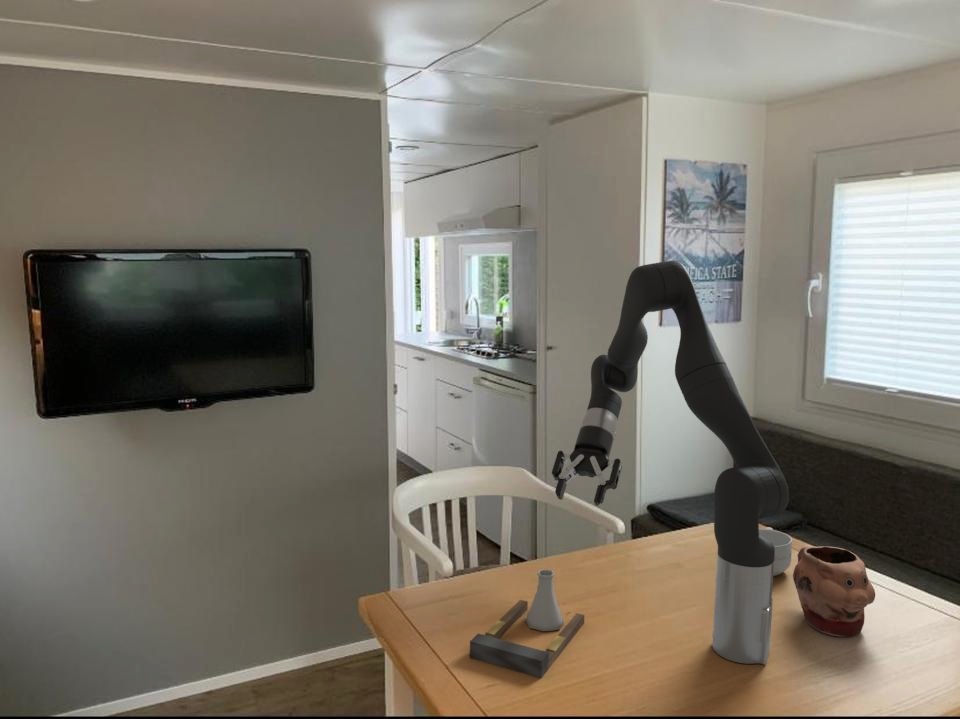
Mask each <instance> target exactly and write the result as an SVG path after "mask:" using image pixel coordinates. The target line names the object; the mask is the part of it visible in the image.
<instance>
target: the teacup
mask: <svg viewBox="0 0 960 719" xmlns="http://www.w3.org/2000/svg"><path fill="white" fill-rule="evenodd" d="M759 535H760V536H762V537H765V538H767V539H768V540H770V541H771V542H772V543H773V545H774V547H775V557H774V571H773V577H775V576H778V575H781V574H782V573H784V572H785V571H786V570H788V569H789V567H790V565H791V563H792V553H793V552H792V546H793V545H792V544H793V538H792V536H790V535H789V534H787V533H784V532H783V531H779V530H773V528H772V527H769V526H768V527H767V526H766V527H765V528H759Z"/></svg>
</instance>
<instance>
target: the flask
mask: <svg viewBox="0 0 960 719" xmlns="http://www.w3.org/2000/svg"><path fill="white" fill-rule="evenodd" d="M536 572H537V573H536V575H537V576H538V582H537V588H536V593H535V594H534V598H533V601H532V603H531V605H530V608H529V610H528V612H527V615H526V618H525V623H526V625H527V626H528V628H529V629H531V630H532V629H534V630H537V631H542V632H550V631H552V632H553V631H559V630H560V629H562V626H564V623H565V622H564V618H563V616H562V613H561V611H560V608H559V605H558V602H557V601H558V600H557V598H556V594H555V589H554V584H553V582H554V579H553V578H554V576H555V572H554V571H553V570H551V569H546V568H545V569H542V568H541V569H538V570H537V571H536Z"/></svg>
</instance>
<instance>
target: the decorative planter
mask: <svg viewBox="0 0 960 719" xmlns="http://www.w3.org/2000/svg"><path fill="white" fill-rule="evenodd" d="M866 569H867V568H866V565H865V563H864V561H863V560H862V559H860V557H859V556H858V555H857V554H855V553H853V552H851V551H850V550H848V549H845V548H841V547H835V546H826V545H825V546H810V547H809V546H803V547H801V548H800V549H799V551H798V553H797V563H796V565H795V566H794V569H793V572H792V578H793V583H794V586H795V589H796V592H797V595H798V600H799V603H800V607H801V609H802V612H803V617H804V620H805V621H806V622H807V623H808V625H809V626H810V627H813V629H815V630H817V631H819V632H821V633H823V634H826V635H831V636H835V637H852V636H856V635H860V633H861V632H862V630H863V627H864V624H865V617H866V616H865V615H866V614H865V608H866V607H867V606H868V605H872V604H873V603H874V601H875V598H876V591H875V588H874V586H873V584H872V583H871V581H870V580H869V577H868V574H867V571H866Z"/></svg>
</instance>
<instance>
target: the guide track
mask: <svg viewBox="0 0 960 719" xmlns="http://www.w3.org/2000/svg"><path fill="white" fill-rule="evenodd" d="M528 602H529V601H527V600H523V599H519V600H518V601H517V602H516V603H515V604H514V605H513V606H511V608H510V609H509V610H507V612H506V613H505V614H504V615H503V616H502V617H501V618H500V619H498V620H497V621H495V623H494V624H493V625H492V626H490V628H488V630H486V632H485V634H481V633H477V634H476V635H475V636H474V637H473V638H472V639H471V640H469V658H470V659H474V660H477V661H480V662H484V663H488V664H490V665H494V666H498V667H501V668H505V669H509V670H512V671H515V672H518V673H522V674H525V675H529V676H532V677H536V678H539V679H542V678H543V676H545V675H546V673H547V672H548V671H549V669H550V668H551V667H552V665H553V664H554V663H555V662H556V660H557V659H558V657H560V655H561V653H562V652H564V650H565V649H566V648H567V646H568V644H569V643H570V642H571V641H572V639H573V638H574V637H575V635H576V634H577V633H578V632H579V630H580V629H581V628H582V627H583V625H584V624H585V614H582V613H577V612H575V614H574V615H573V616H572V618H571V619H570V620H569V621H568V622H567V624H566V625H565V626H564V628H562V630H561V631H560V633H558V634H557V635H556V637H555V638H553V640H552V641H551V642H550V643H549V644H548V646H547V647H546V649H545V650H541V649H538V648H534V647H530V646H526V645H522V644H519V643H515V642H511V641H508V640H505V639H504V640H503V639H500V638H501V637H502V636H503V635H504V634H505V633H506V632H507V631H508V630H509V629H510V628H511V627H512V626H513V625H514V624H515V623H516V622H517V621H518V620H519V619H520V618H521V616H522V615H524V613H525V612H526V611H527V610H528V604H529V603H528Z"/></svg>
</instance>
